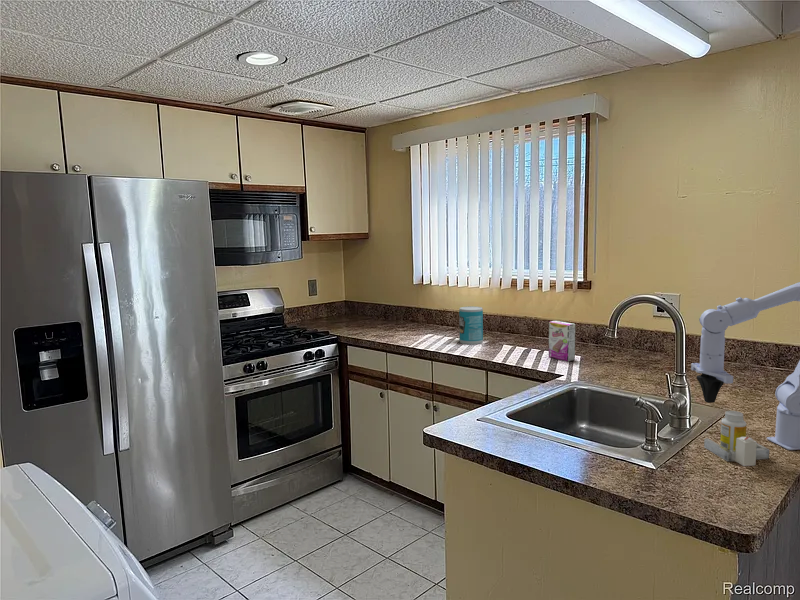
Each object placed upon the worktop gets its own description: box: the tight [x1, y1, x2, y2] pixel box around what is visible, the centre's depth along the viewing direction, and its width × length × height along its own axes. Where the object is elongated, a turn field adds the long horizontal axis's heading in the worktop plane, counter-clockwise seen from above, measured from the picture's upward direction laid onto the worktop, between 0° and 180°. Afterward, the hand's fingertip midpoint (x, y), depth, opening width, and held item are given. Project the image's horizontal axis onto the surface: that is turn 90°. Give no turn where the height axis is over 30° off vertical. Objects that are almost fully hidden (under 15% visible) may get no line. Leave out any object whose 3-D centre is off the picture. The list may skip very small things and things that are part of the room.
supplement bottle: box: [719, 410, 747, 450], centre depth 141 cm, size 6×6×10 cm
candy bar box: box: [548, 320, 576, 363], centre depth 243 cm, size 11×5×16 cm, turn 34°
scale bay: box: [703, 438, 770, 463], centre depth 140 cm, size 11×9×2 cm
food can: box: [458, 305, 484, 346], centre depth 282 cm, size 12×12×18 cm
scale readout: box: [734, 436, 758, 467], centre depth 134 cm, size 3×3×6 cm
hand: (709, 401), depth 150 cm, fingers closed
